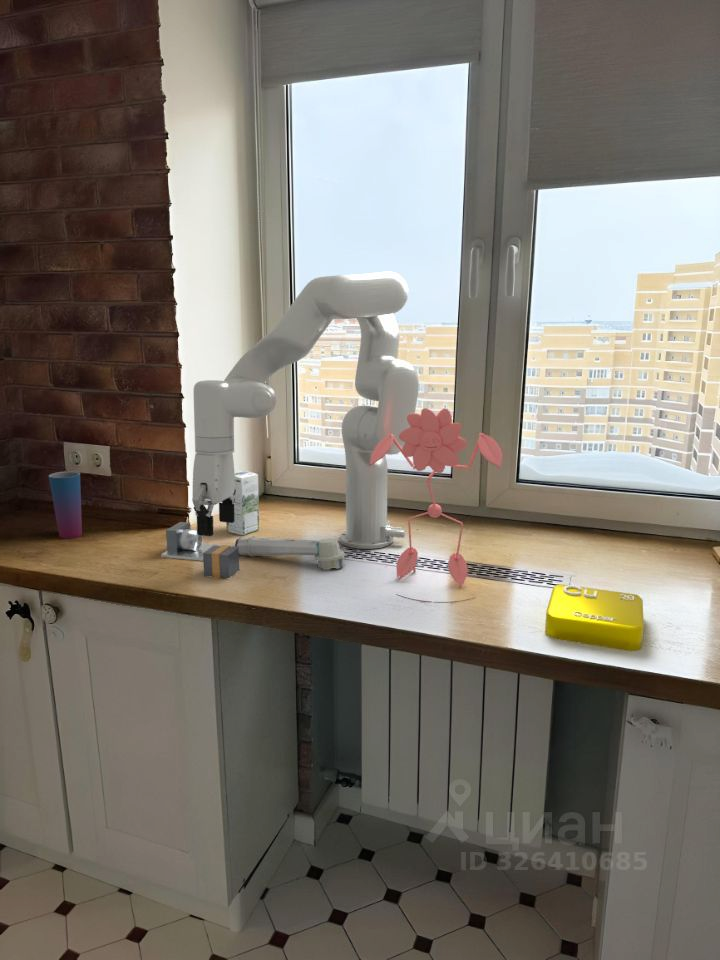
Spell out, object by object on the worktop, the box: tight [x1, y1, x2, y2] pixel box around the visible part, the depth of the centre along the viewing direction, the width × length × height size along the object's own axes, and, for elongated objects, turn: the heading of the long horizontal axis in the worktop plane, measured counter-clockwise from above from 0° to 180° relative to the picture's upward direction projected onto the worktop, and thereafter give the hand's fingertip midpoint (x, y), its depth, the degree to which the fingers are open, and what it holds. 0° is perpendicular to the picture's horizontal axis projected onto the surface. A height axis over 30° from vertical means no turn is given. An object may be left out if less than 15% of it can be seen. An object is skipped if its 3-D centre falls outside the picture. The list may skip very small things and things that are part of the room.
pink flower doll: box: [370, 407, 503, 604], centre depth 127 cm, size 15×26×35 cm, turn 70°
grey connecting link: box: [234, 535, 346, 571], centre depth 145 cm, size 5×7×25 cm
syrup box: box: [225, 470, 260, 536], centre depth 164 cm, size 6×6×14 cm
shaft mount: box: [160, 521, 235, 562], centre depth 150 cm, size 15×9×6 cm, turn 76°
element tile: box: [544, 583, 645, 652], centre depth 115 cm, size 15×15×5 cm
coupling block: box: [202, 544, 240, 579], centre depth 138 cm, size 6×5×5 cm
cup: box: [48, 470, 83, 539], centre depth 161 cm, size 7×7×15 cm
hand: (216, 528), depth 136 cm, fingers open, 9 cm apart
